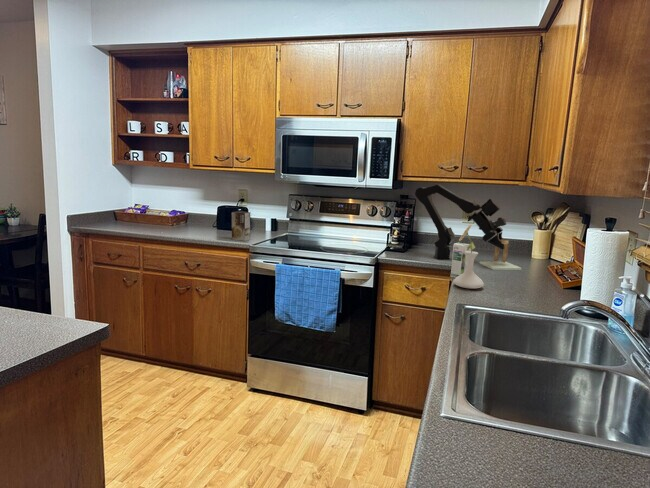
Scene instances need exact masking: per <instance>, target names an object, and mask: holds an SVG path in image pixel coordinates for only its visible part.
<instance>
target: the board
mask: <svg viewBox="0 0 650 488" xmlns="http://www.w3.org/2000/svg"><path fill="white" fill-rule="evenodd" d="M478 264H480V265H481V266H484V267H486V268H488V269H491V270H493V271H522V269H523V268H522V267H520V266H518V265H515V264H513V263H511V262H508V261H505V263H503V262H502V261H496V262H495V261H488V260H487V261H485V260H484V261H479V263H478Z"/></svg>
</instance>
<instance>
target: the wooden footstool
mask: <svg viewBox="0 0 650 488" xmlns="http://www.w3.org/2000/svg"><path fill="white" fill-rule="evenodd" d="M500 241H501V243H502V244H504V249H502V250H503V251H502V261H501V262H503V263H505V262H508V261H507V260H508V251H509V242H510V240H507V239H503V240H500ZM500 250H501V248H499V247H497V246H495V245H494V254H493V255H494V257H493V262H498V261H499V257H500Z"/></svg>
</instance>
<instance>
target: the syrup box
mask: <svg viewBox="0 0 650 488" xmlns="http://www.w3.org/2000/svg"><path fill="white" fill-rule="evenodd" d="M469 244H470V243H462V242H455V243H453V246H452V256H451V257H452V258H451V259H452V260H451V271H450V278H453V279H455V278H456V277H458V276H459V275H461V274H462V273H464V272H465V271H466V269H467V256H466V254H465V251H471V249H469V250H467V248H468V247H469Z"/></svg>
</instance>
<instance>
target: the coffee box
mask: <svg viewBox="0 0 650 488" xmlns="http://www.w3.org/2000/svg"><path fill="white" fill-rule="evenodd" d="M231 240H232V241H240V242H241V241H242V242H247V241H250V240H251V212H250V211H249V212H248V211H232V212H231Z"/></svg>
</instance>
